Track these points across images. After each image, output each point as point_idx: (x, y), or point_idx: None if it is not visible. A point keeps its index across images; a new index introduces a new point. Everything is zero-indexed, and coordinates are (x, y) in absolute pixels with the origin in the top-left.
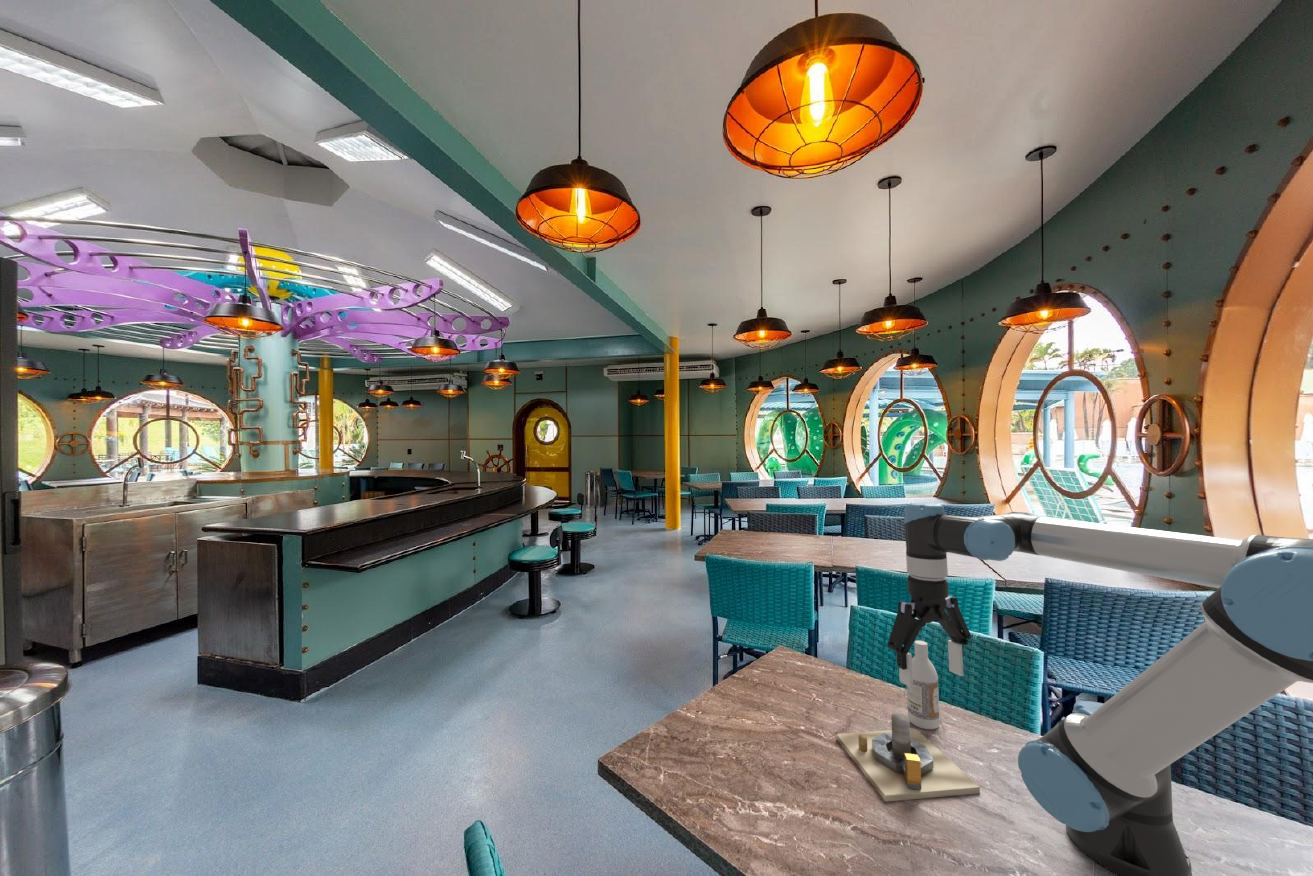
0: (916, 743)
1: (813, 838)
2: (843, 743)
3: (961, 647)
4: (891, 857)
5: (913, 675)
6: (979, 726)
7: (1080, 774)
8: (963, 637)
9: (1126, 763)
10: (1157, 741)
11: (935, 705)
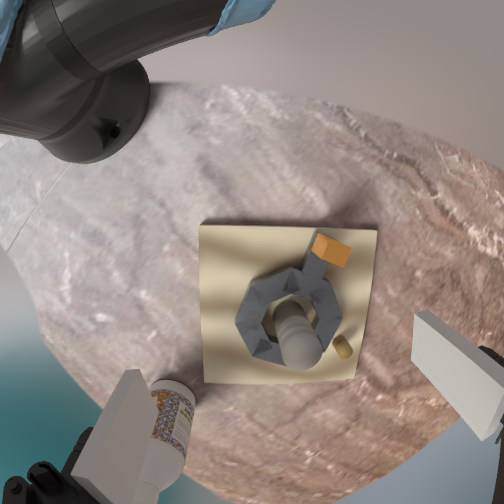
0: (248, 334)
1: (474, 190)
2: (358, 357)
3: (79, 463)
4: (416, 139)
5: (179, 459)
6: (90, 368)
7: None
8: (43, 500)
9: None
10: None
11: None
